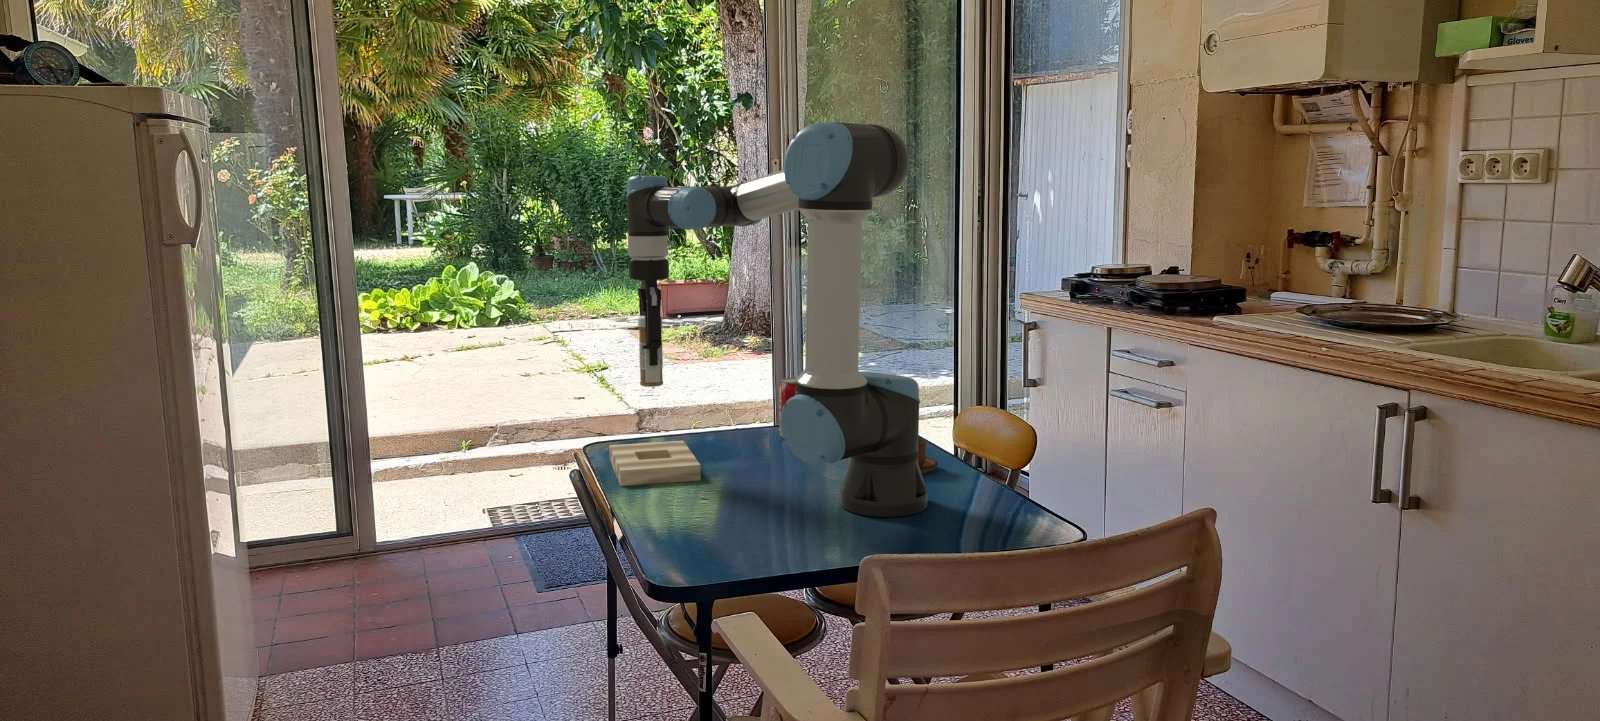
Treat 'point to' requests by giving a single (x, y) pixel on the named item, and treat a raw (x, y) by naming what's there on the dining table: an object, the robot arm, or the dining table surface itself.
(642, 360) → the sprinkles bottle
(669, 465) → the socket plate
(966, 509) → the dining table surface
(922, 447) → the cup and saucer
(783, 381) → the soda can
